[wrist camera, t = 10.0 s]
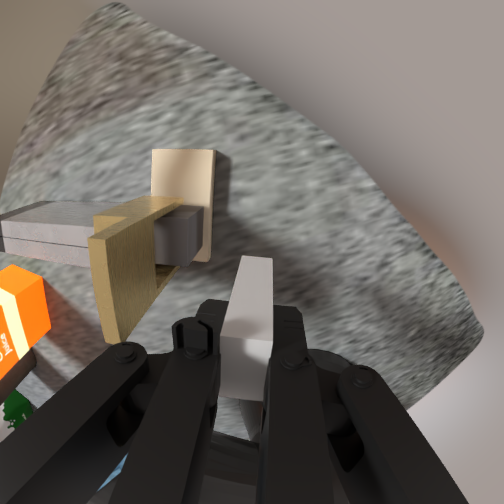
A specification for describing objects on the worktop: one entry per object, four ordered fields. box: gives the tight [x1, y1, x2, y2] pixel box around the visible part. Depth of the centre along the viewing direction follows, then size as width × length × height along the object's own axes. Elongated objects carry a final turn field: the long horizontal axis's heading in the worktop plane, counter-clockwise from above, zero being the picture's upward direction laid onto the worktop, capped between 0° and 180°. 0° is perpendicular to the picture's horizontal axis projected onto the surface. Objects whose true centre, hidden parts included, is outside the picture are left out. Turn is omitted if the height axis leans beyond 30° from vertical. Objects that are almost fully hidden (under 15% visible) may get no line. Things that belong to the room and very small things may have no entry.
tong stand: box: [151, 149, 216, 267], centre depth 22 cm, size 6×10×6 cm, turn 175°
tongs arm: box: [0, 201, 123, 247], centre depth 21 cm, size 16×2×9 cm, turn 85°
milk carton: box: [0, 389, 33, 442], centre depth 34 cm, size 9×9×20 cm
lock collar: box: [87, 196, 184, 344], centre depth 17 cm, size 4×6×12 cm, turn 176°
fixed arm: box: [0, 236, 91, 268], centre depth 22 cm, size 16×2×9 cm, turn 85°
